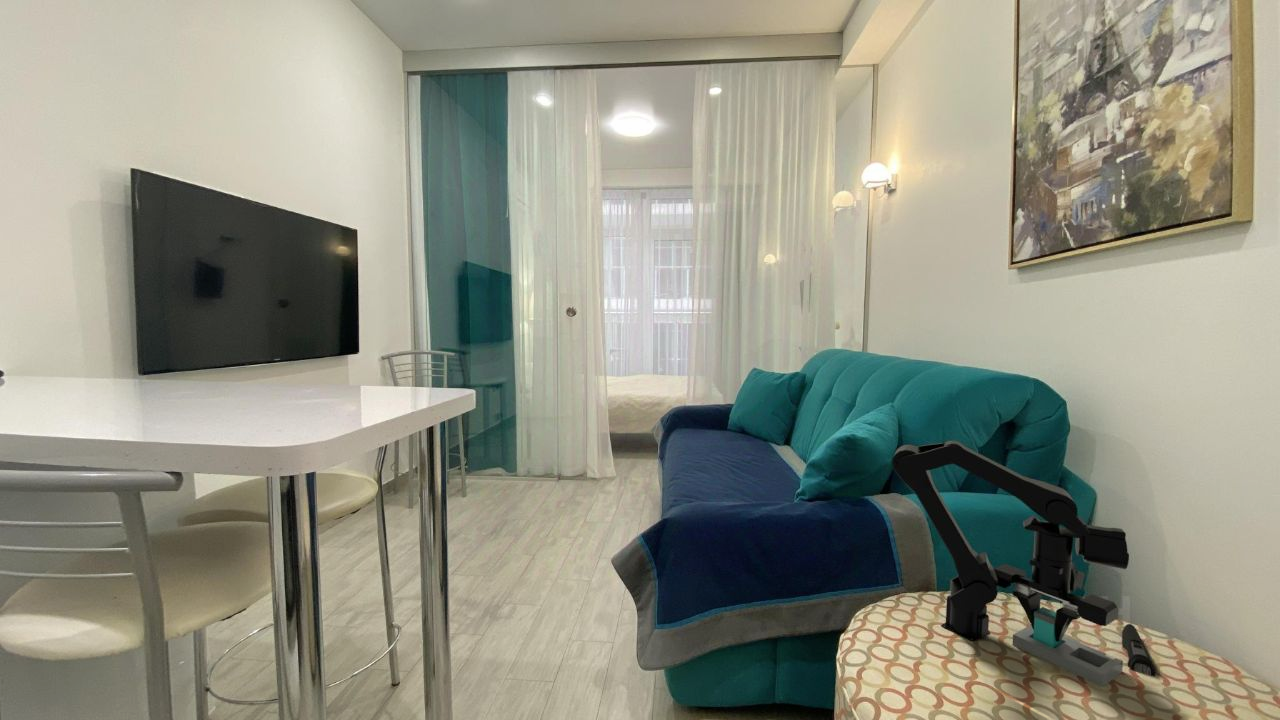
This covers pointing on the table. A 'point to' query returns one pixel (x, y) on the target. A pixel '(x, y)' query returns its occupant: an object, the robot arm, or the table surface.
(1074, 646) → the grey flat block
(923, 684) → the table surface
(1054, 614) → the plug
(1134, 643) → the electric trimmer
